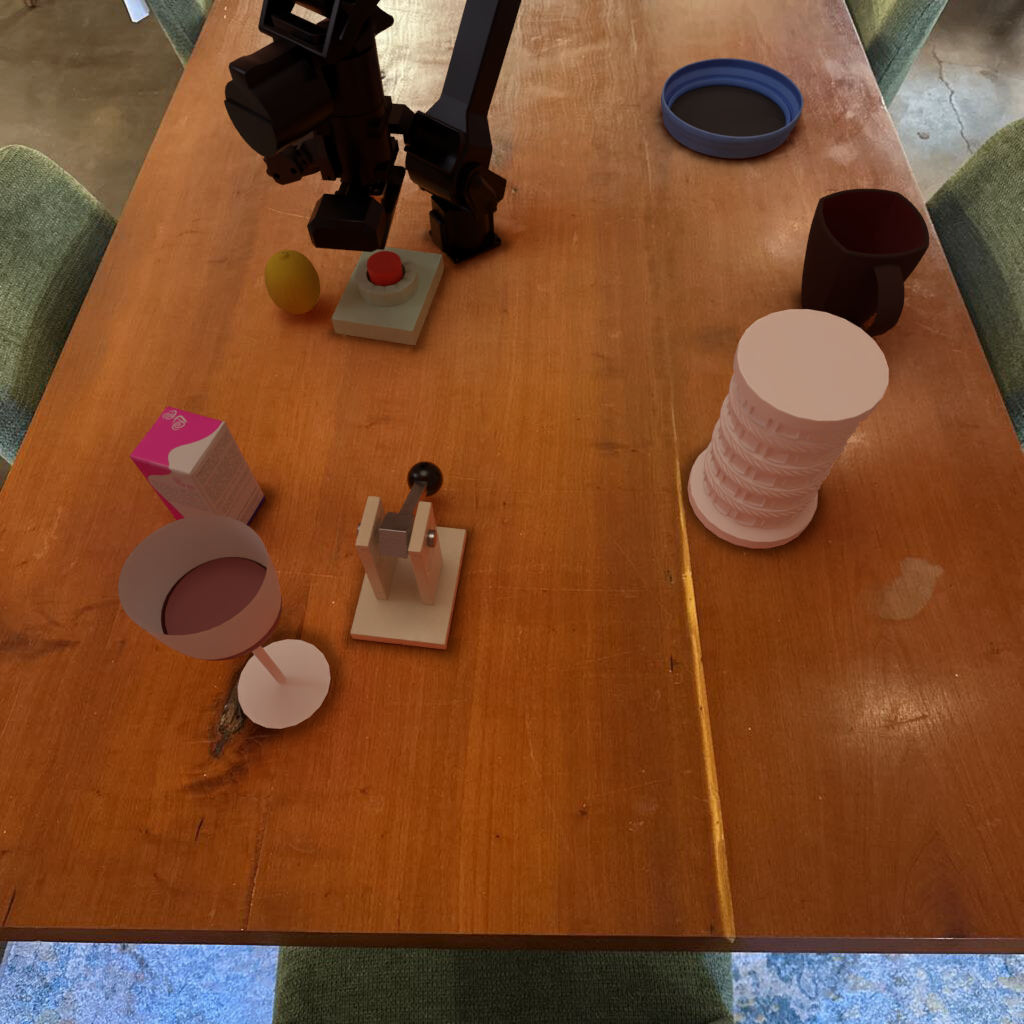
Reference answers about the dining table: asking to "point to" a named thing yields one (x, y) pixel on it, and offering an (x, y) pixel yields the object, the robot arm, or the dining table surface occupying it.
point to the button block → (389, 299)
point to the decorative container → (784, 424)
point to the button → (385, 268)
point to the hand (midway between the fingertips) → (380, 247)
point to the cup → (862, 256)
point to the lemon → (292, 282)
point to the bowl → (730, 107)
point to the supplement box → (197, 467)
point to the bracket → (408, 581)
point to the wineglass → (224, 612)
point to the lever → (408, 510)
